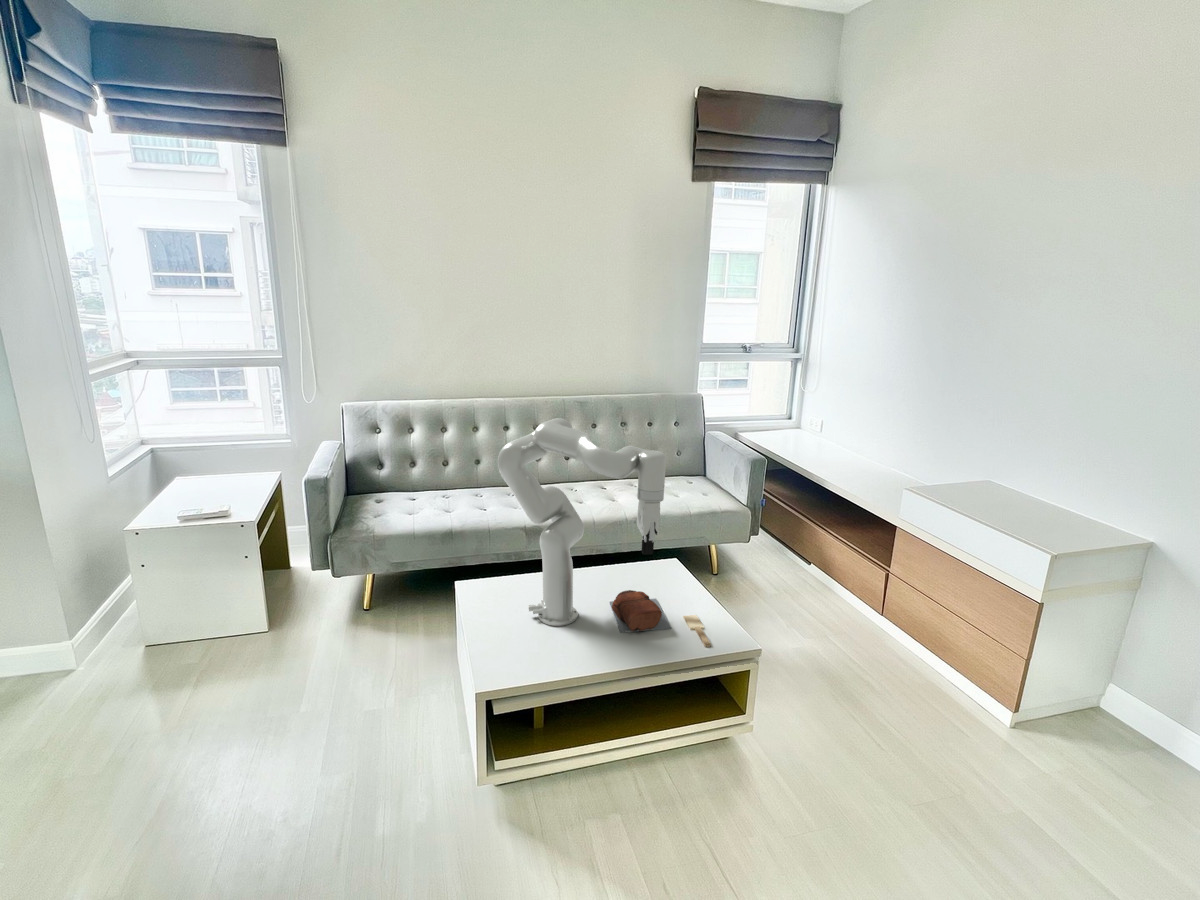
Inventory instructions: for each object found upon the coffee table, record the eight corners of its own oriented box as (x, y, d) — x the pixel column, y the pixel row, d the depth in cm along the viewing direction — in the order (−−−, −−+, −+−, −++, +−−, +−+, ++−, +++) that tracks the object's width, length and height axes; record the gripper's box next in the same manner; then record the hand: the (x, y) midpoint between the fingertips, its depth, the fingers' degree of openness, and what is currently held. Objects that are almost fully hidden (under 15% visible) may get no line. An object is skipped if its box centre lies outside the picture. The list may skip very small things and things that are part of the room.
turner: (715, 646, 182) (715, 643, 182) (700, 647, 182) (700, 644, 181) (696, 616, 200) (696, 613, 199) (683, 617, 199) (683, 614, 199)
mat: (620, 632, 189) (620, 630, 189) (609, 603, 207) (609, 601, 207) (671, 628, 192) (671, 627, 192) (655, 600, 210) (656, 598, 210)
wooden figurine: (663, 626, 191) (639, 602, 208) (663, 607, 190) (639, 584, 206) (628, 635, 187) (606, 609, 204) (627, 615, 186) (606, 591, 202)
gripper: (633, 485, 183) (630, 543, 187) (642, 502, 169) (639, 564, 173) (657, 485, 184) (654, 543, 188) (669, 502, 170) (665, 564, 174)
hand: (647, 553), depth 181 cm, fingers closed
